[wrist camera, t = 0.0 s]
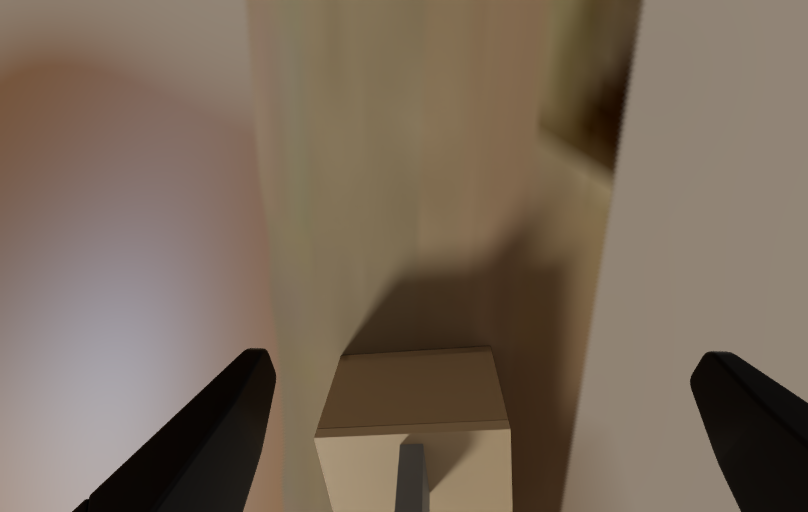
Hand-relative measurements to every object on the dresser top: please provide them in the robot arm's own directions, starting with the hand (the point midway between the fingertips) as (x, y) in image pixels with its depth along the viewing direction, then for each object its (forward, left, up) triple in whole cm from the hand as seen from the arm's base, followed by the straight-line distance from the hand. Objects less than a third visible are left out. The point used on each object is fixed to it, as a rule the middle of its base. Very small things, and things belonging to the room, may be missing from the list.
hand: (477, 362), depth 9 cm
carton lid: (-14, -10, -9) cm, 20 cm away
